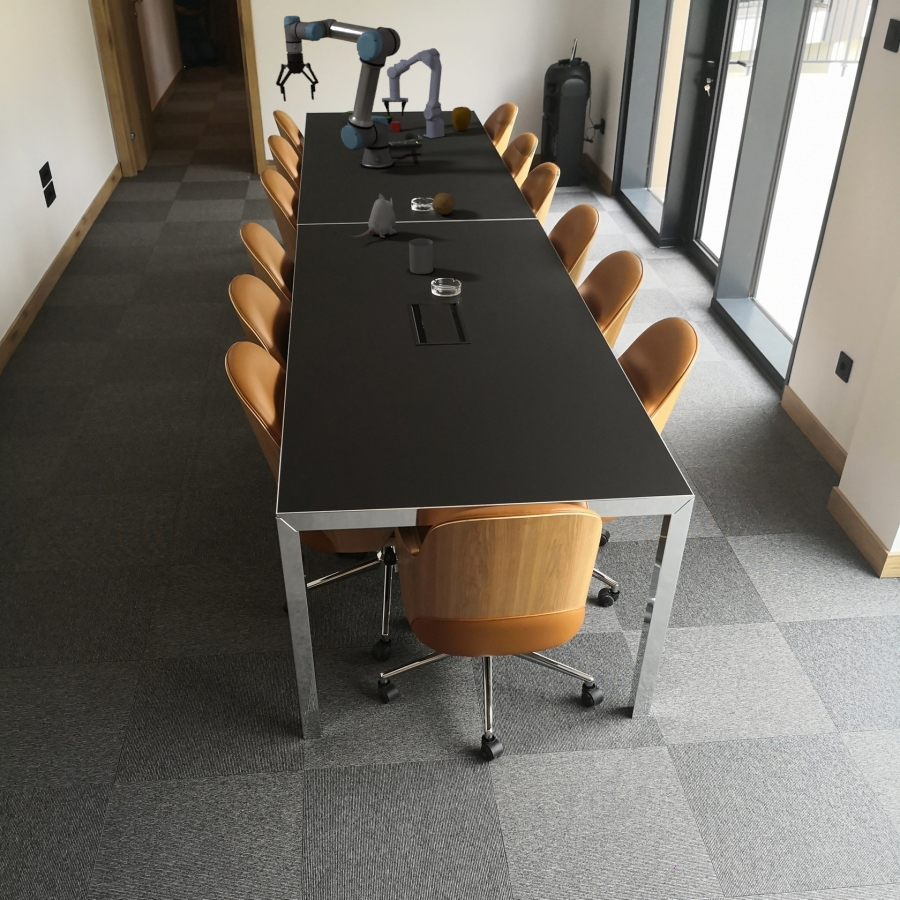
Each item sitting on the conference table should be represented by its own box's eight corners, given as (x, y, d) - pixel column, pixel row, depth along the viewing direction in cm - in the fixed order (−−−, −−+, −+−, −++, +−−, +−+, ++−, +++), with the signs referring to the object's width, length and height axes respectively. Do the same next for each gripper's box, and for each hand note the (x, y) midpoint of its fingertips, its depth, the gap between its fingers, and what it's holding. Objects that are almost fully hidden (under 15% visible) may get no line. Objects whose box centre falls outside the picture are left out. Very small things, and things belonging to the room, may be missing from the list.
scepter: (393, 108, 508) (341, 106, 505) (392, 121, 500) (340, 119, 498) (392, 117, 512) (341, 115, 510) (392, 130, 505) (341, 128, 503)
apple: (471, 132, 486) (471, 108, 479) (451, 132, 486) (451, 108, 479) (470, 128, 495) (471, 104, 488) (452, 128, 495) (452, 104, 488)
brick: (392, 129, 492) (391, 121, 490) (400, 129, 492) (400, 121, 490) (391, 131, 488) (391, 123, 486) (399, 131, 488) (399, 123, 486)
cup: (409, 265, 311) (408, 238, 306) (432, 265, 312) (431, 238, 307) (410, 274, 304) (409, 246, 299) (433, 273, 305) (433, 246, 299)
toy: (402, 233, 342) (401, 194, 333) (358, 248, 327) (355, 208, 319) (387, 227, 347) (385, 190, 339) (342, 242, 332) (339, 203, 324)
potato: (453, 208, 369) (453, 189, 365) (456, 218, 357) (456, 199, 353) (431, 208, 368) (430, 189, 364) (432, 218, 356) (432, 199, 352)
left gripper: (269, 54, 403) (274, 103, 414) (322, 52, 409) (325, 100, 420) (267, 52, 409) (272, 100, 420) (319, 50, 415) (322, 97, 427)
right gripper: (380, 91, 475) (382, 117, 483) (407, 91, 475) (408, 117, 482) (382, 88, 481) (383, 114, 489) (408, 88, 481) (408, 114, 488)
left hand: (298, 100), depth 420 cm, fingers open, 13 cm apart
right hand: (395, 115), depth 486 cm, fingers open, 7 cm apart
